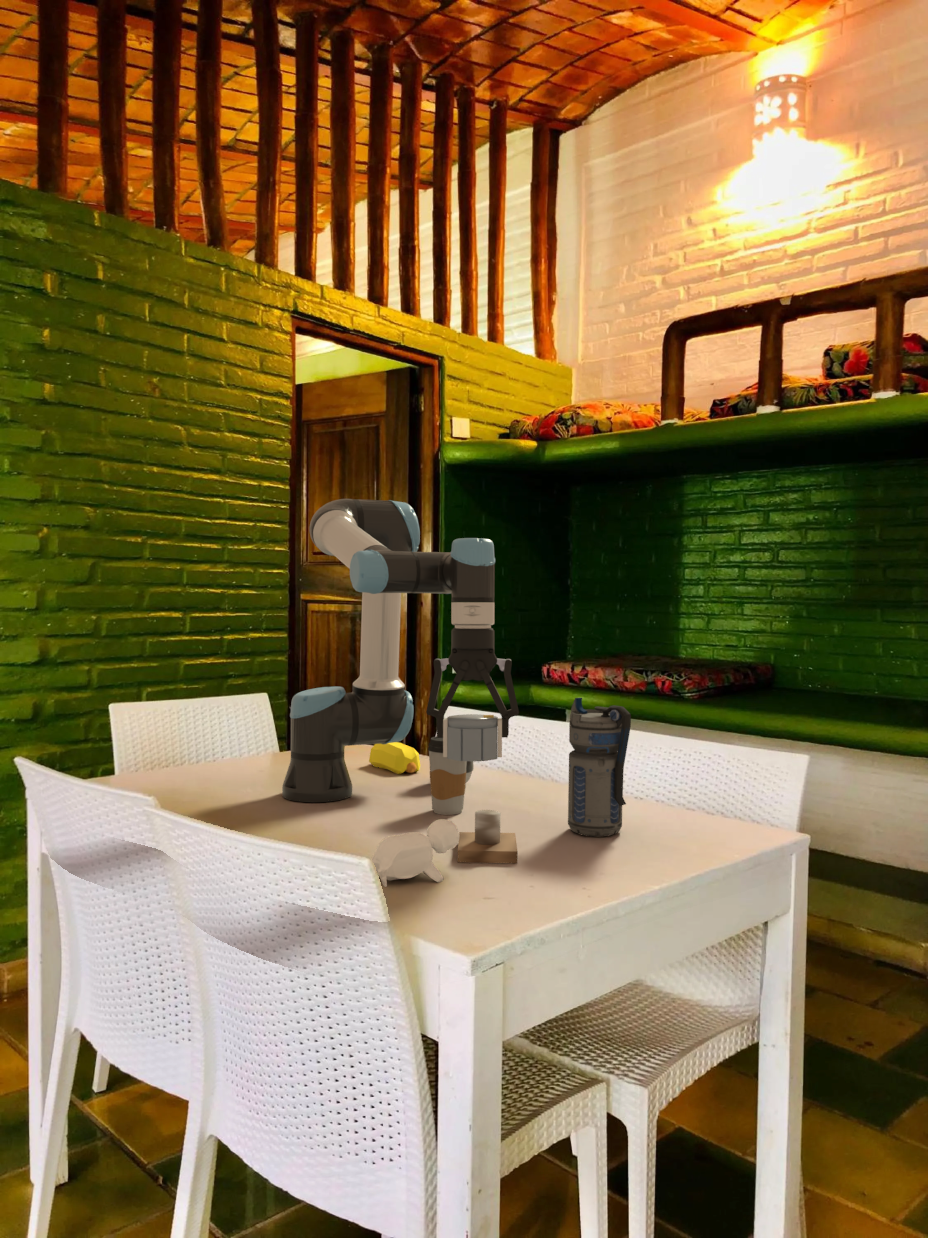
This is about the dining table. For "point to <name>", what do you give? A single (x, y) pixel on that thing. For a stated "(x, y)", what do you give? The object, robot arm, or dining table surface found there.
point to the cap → (472, 737)
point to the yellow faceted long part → (395, 757)
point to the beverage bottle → (597, 768)
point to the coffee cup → (446, 780)
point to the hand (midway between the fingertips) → (472, 755)
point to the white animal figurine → (414, 852)
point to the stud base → (487, 850)
